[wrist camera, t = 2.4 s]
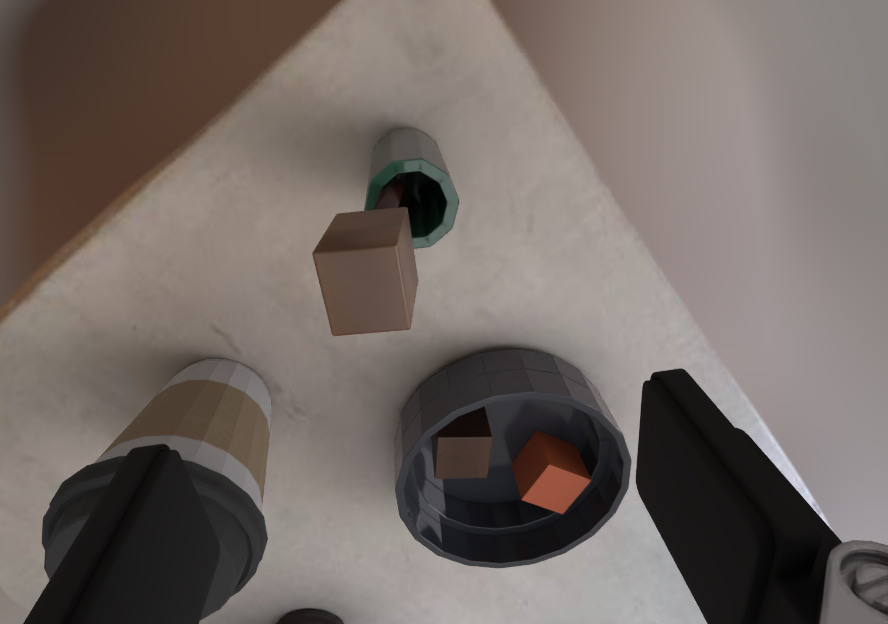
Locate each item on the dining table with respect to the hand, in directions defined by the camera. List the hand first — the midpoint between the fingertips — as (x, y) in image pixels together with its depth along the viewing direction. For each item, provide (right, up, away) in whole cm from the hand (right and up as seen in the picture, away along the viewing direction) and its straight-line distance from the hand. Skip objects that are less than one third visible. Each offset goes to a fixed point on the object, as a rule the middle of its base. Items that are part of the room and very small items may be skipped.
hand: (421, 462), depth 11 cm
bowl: (+5, -7, +34) cm, 35 cm away
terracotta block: (+9, -9, +35) cm, 37 cm away
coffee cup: (-16, -3, +30) cm, 34 cm away
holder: (-2, +12, +23) cm, 26 cm away
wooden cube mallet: (-2, +12, +23) cm, 26 cm away
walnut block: (+2, -6, +32) cm, 33 cm away
